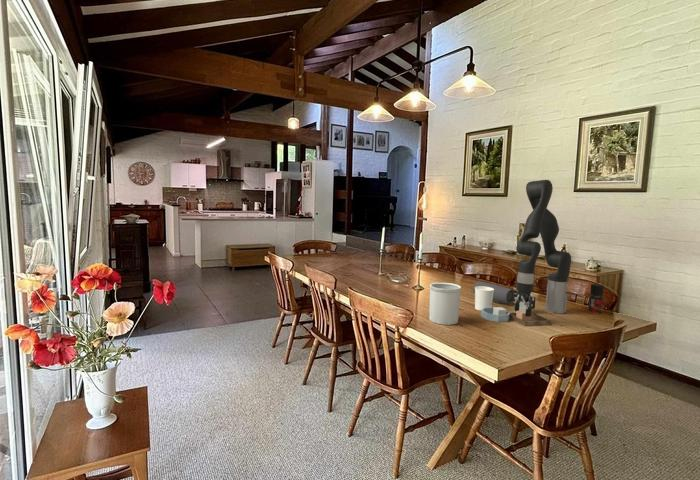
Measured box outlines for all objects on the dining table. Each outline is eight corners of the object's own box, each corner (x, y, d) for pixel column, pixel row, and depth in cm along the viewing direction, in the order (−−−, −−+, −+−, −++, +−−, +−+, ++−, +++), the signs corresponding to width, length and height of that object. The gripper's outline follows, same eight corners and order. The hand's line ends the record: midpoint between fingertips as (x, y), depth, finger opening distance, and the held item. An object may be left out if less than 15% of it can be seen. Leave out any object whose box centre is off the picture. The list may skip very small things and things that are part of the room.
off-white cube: (500, 315, 193) (501, 307, 192) (506, 318, 188) (506, 309, 188) (492, 315, 192) (493, 307, 191) (497, 318, 188) (498, 310, 187)
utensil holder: (421, 317, 188) (423, 283, 186) (446, 314, 194) (448, 281, 192) (439, 327, 175) (442, 290, 173) (465, 323, 181) (467, 288, 179)
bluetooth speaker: (514, 304, 216) (516, 287, 215) (505, 307, 211) (506, 289, 210) (481, 295, 235) (482, 279, 234) (471, 297, 230) (472, 281, 229)
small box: (530, 312, 202) (532, 293, 201) (530, 315, 197) (532, 295, 196) (514, 310, 206) (515, 291, 204) (513, 312, 200) (515, 293, 199)
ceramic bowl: (498, 314, 197) (499, 307, 197) (514, 322, 185) (515, 314, 184) (476, 314, 195) (477, 307, 194) (490, 323, 182) (491, 315, 182)
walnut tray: (530, 316, 195) (531, 311, 194) (550, 326, 181) (551, 320, 181) (506, 317, 192) (506, 312, 191) (524, 327, 178) (525, 322, 178)
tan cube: (523, 319, 188) (524, 310, 188) (529, 322, 184) (530, 313, 183) (515, 319, 187) (516, 310, 187) (521, 322, 183) (522, 313, 182)
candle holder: (494, 313, 199) (495, 291, 197) (474, 311, 200) (476, 289, 199) (490, 308, 208) (492, 286, 207) (472, 306, 210) (473, 285, 209)
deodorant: (587, 311, 207) (590, 284, 205) (589, 309, 211) (592, 283, 210) (599, 313, 203) (602, 286, 201) (601, 311, 207) (604, 285, 206)
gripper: (542, 285, 177) (538, 318, 179) (522, 278, 191) (519, 309, 193) (527, 285, 176) (524, 318, 178) (509, 278, 190) (506, 309, 192)
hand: (522, 313), depth 185 cm, fingers open, 8 cm apart
